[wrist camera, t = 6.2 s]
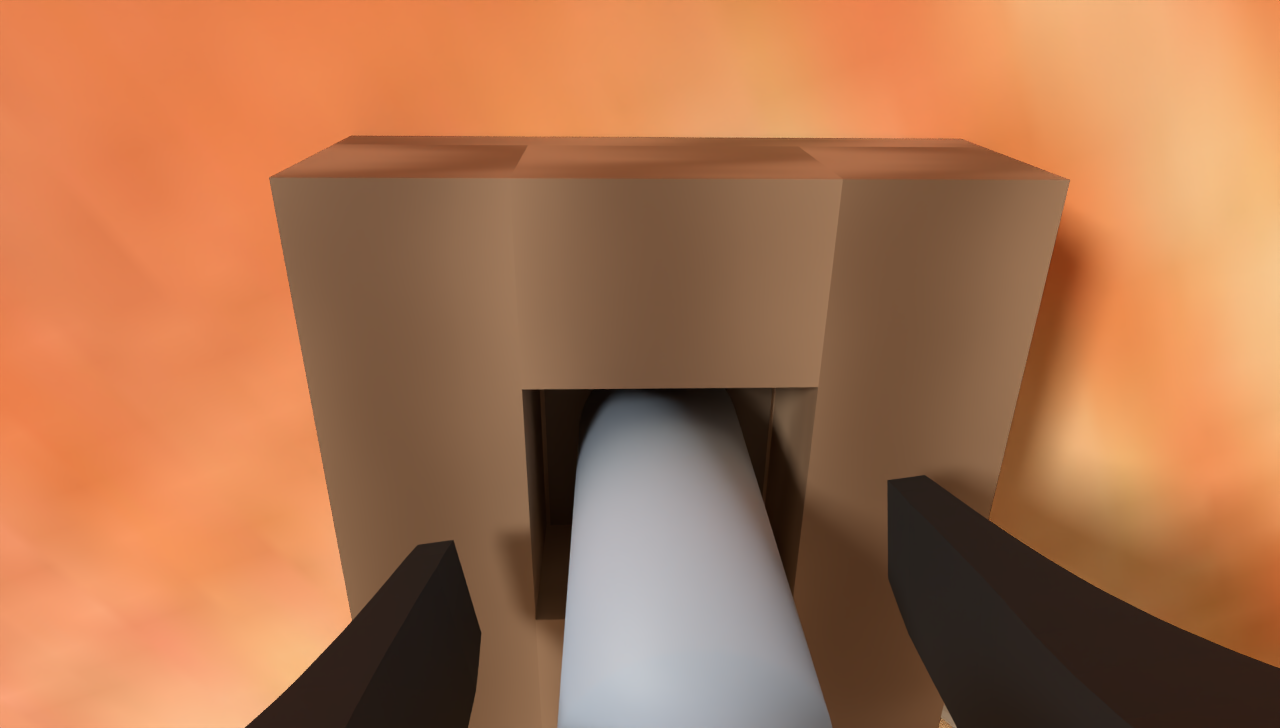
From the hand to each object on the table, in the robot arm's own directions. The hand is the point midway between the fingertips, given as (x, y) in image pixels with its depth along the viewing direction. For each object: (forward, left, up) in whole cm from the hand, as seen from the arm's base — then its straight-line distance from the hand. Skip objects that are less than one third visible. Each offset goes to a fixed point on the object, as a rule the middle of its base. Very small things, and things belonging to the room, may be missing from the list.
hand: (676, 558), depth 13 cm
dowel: (0, 0, -4) cm, 4 cm away
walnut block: (0, 0, -5) cm, 5 cm away
